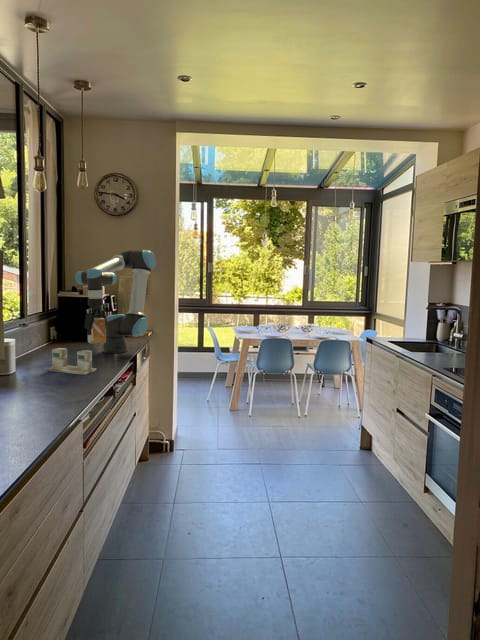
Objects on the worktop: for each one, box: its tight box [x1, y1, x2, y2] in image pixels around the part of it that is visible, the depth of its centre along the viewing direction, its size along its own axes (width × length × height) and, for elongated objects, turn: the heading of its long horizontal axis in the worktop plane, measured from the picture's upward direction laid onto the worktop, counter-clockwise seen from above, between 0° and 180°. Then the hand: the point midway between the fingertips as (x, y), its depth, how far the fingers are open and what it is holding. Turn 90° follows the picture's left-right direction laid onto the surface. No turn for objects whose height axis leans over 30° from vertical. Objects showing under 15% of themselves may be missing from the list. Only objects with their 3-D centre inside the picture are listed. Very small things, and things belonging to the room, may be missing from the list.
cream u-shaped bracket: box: [47, 347, 98, 375], centre depth 225 cm, size 10×22×11 cm, turn 73°
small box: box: [86, 317, 106, 345], centre depth 236 cm, size 8×6×13 cm
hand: (96, 339), depth 237 cm, fingers closed on small box, 10 cm apart
